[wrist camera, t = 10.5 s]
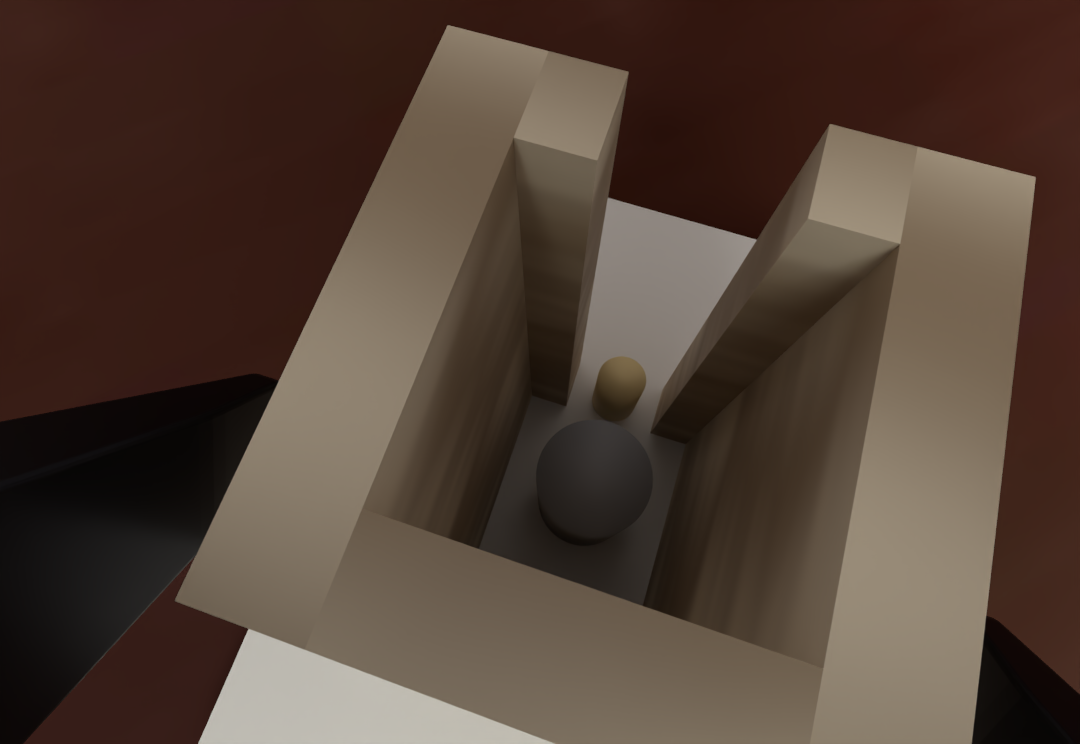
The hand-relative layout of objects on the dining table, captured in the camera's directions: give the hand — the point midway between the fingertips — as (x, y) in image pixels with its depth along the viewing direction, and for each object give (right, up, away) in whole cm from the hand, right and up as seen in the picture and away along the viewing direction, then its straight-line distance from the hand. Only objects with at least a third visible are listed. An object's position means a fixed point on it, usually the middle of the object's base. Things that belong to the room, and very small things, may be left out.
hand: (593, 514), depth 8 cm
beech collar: (0, -1, +9) cm, 9 cm away
